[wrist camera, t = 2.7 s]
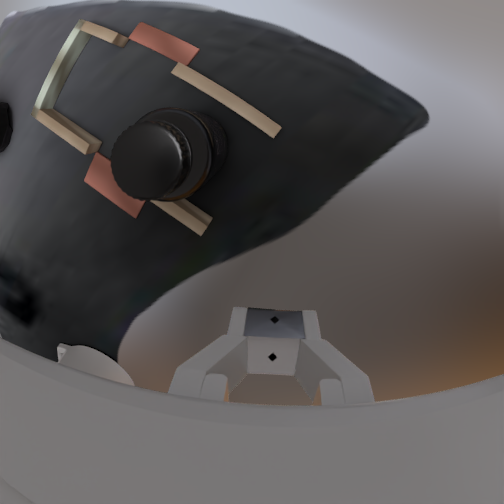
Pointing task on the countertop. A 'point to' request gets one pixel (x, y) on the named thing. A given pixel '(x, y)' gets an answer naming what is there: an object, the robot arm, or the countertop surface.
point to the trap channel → (87, 143)
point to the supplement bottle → (168, 154)
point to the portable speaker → (4, 127)
